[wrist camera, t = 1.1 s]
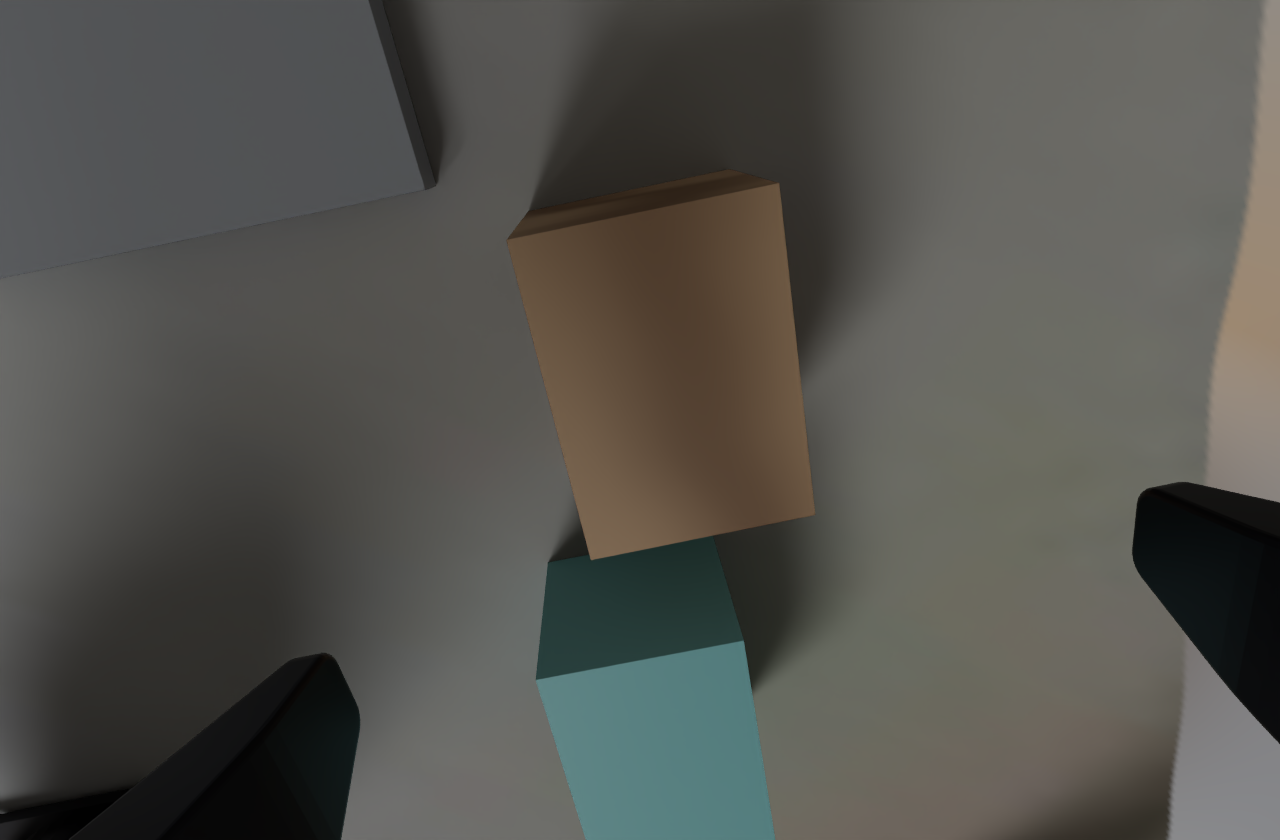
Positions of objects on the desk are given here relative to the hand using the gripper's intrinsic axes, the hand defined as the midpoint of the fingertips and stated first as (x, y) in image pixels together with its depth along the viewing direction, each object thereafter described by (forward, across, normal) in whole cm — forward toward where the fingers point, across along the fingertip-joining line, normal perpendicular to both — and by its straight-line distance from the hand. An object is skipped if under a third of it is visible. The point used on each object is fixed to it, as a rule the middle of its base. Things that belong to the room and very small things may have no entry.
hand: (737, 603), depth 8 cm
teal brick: (+12, +2, +10) cm, 16 cm away
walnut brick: (+12, 0, 0) cm, 12 cm away
